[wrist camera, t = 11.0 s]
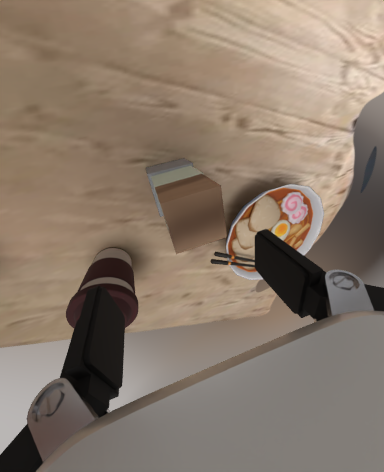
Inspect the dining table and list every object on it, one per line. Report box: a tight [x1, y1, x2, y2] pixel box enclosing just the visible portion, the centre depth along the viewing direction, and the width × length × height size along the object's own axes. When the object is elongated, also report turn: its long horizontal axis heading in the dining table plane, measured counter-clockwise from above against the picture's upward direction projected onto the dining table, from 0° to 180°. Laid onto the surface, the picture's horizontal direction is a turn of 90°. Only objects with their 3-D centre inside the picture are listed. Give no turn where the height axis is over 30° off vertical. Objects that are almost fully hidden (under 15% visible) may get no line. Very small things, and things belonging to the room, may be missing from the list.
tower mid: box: [151, 165, 203, 228], centre depth 26 cm, size 6×6×6 cm
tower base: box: [146, 158, 193, 217], centre depth 31 cm, size 7×7×6 cm
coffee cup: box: [66, 248, 138, 328], centre depth 32 cm, size 10×10×15 cm
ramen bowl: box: [211, 184, 324, 280], centre depth 40 cm, size 25×23×8 cm
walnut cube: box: [155, 174, 227, 254], centre depth 21 cm, size 6×6×6 cm
